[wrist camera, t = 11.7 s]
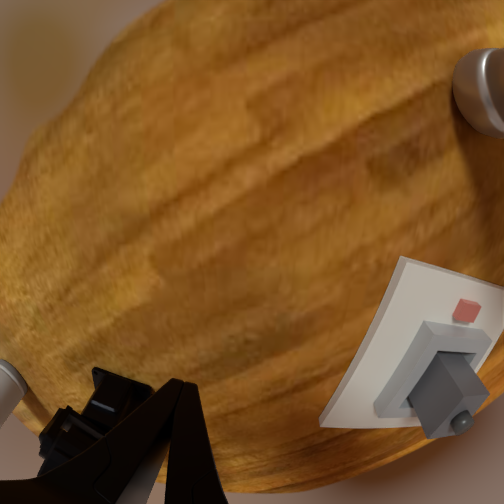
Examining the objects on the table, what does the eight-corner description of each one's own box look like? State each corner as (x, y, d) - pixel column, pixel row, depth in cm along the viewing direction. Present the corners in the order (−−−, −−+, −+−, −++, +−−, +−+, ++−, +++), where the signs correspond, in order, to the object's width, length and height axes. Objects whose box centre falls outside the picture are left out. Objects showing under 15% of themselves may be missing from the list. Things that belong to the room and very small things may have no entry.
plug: (430, 387, 22) (459, 444, 15) (403, 386, 22) (431, 449, 15) (456, 347, 21) (496, 403, 13) (430, 344, 20) (470, 407, 13)
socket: (433, 417, 26) (442, 435, 23) (318, 417, 25) (322, 442, 22) (513, 290, 20) (531, 304, 17) (400, 255, 19) (419, 273, 16)
